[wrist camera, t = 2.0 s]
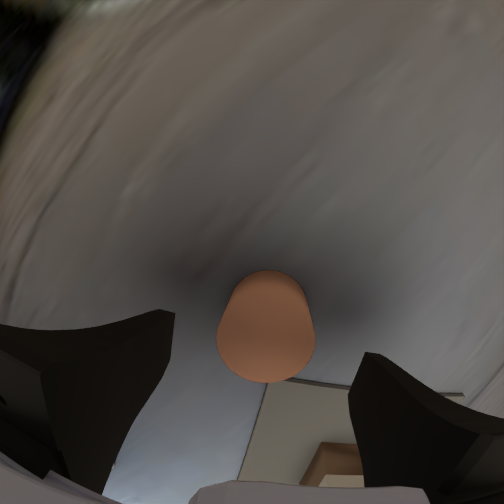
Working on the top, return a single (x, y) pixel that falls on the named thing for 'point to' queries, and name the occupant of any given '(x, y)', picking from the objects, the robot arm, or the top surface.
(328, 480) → the tower mid
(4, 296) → the top surface
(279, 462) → the mat
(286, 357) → the cylinder
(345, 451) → the tower base
